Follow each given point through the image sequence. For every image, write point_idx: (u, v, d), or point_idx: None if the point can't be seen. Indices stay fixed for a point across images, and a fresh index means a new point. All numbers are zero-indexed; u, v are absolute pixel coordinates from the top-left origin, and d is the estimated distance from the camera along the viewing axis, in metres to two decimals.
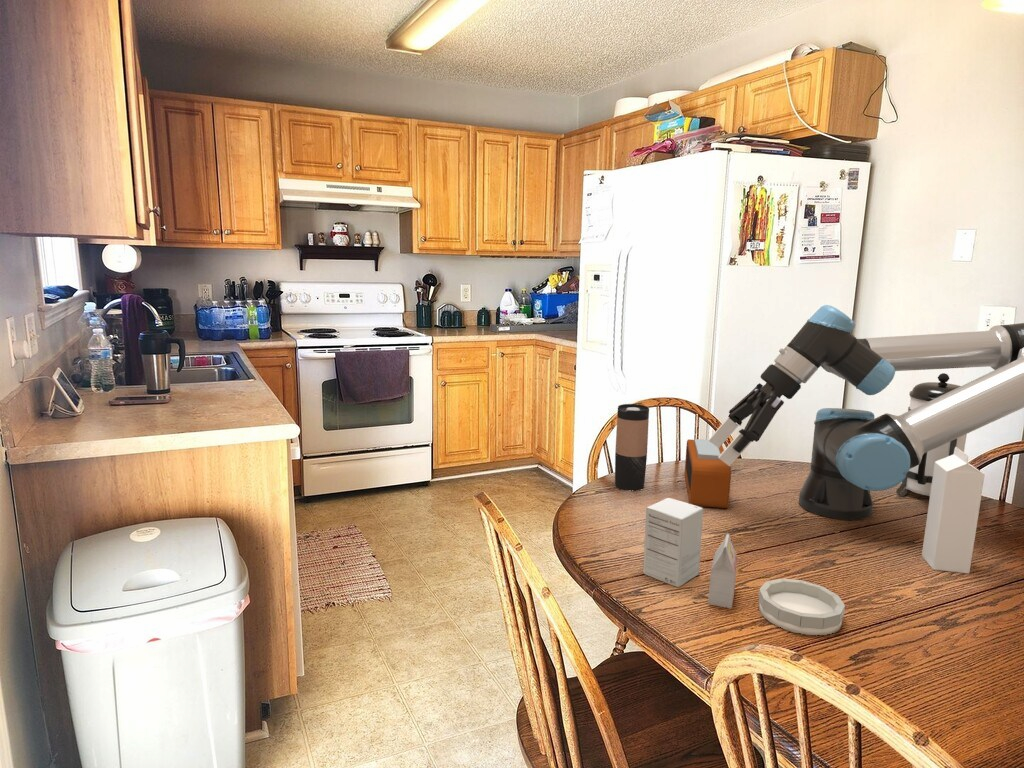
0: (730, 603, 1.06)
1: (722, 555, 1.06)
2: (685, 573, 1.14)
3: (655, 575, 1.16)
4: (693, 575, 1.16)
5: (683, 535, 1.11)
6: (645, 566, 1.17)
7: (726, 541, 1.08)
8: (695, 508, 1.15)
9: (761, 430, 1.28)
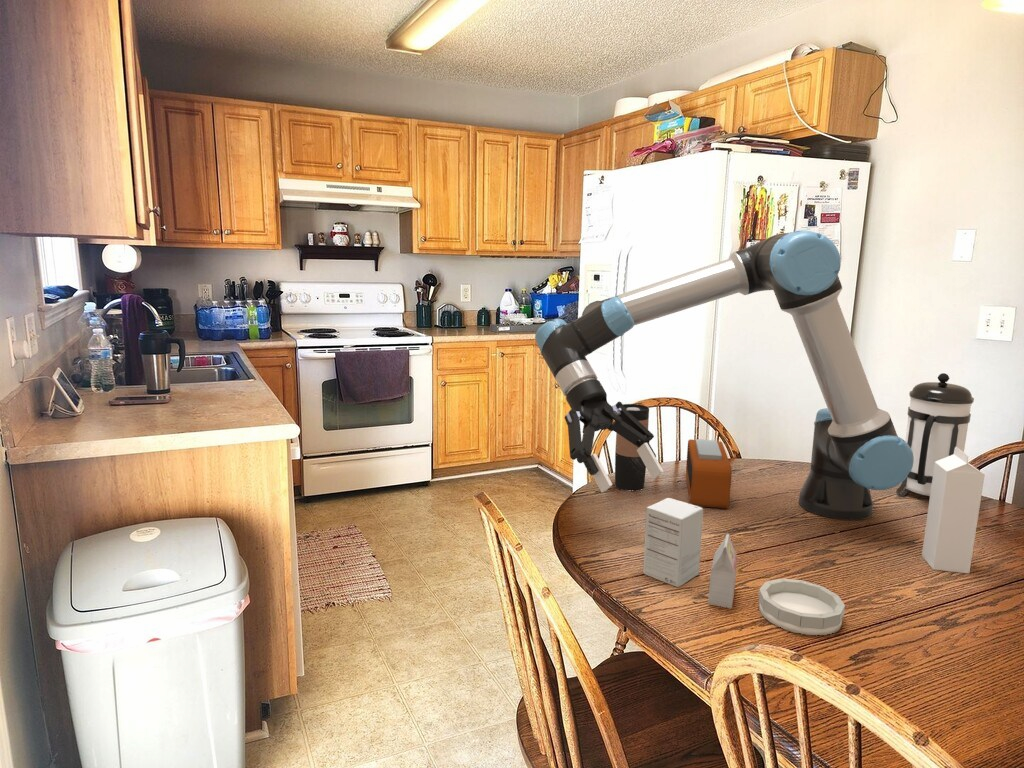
0: (730, 603, 1.06)
1: (722, 555, 1.06)
2: (685, 573, 1.14)
3: (655, 575, 1.16)
4: (693, 575, 1.16)
5: (683, 535, 1.11)
6: (645, 566, 1.17)
7: (726, 541, 1.08)
8: (695, 508, 1.15)
9: (574, 443, 1.20)
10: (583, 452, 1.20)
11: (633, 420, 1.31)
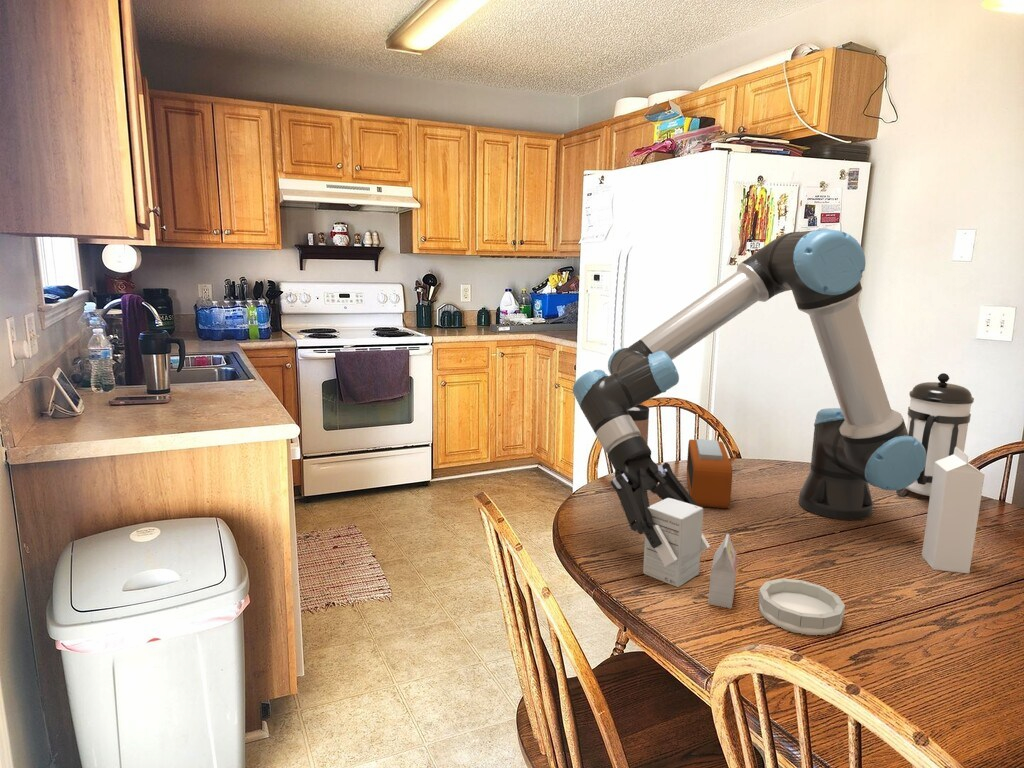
0: (730, 603, 1.06)
1: (722, 555, 1.06)
2: (685, 573, 1.14)
3: (655, 575, 1.16)
4: (693, 575, 1.16)
5: (682, 535, 1.11)
6: (645, 566, 1.17)
7: (726, 541, 1.08)
8: (695, 508, 1.15)
9: (633, 514, 1.13)
10: (645, 523, 1.13)
11: (678, 485, 1.22)
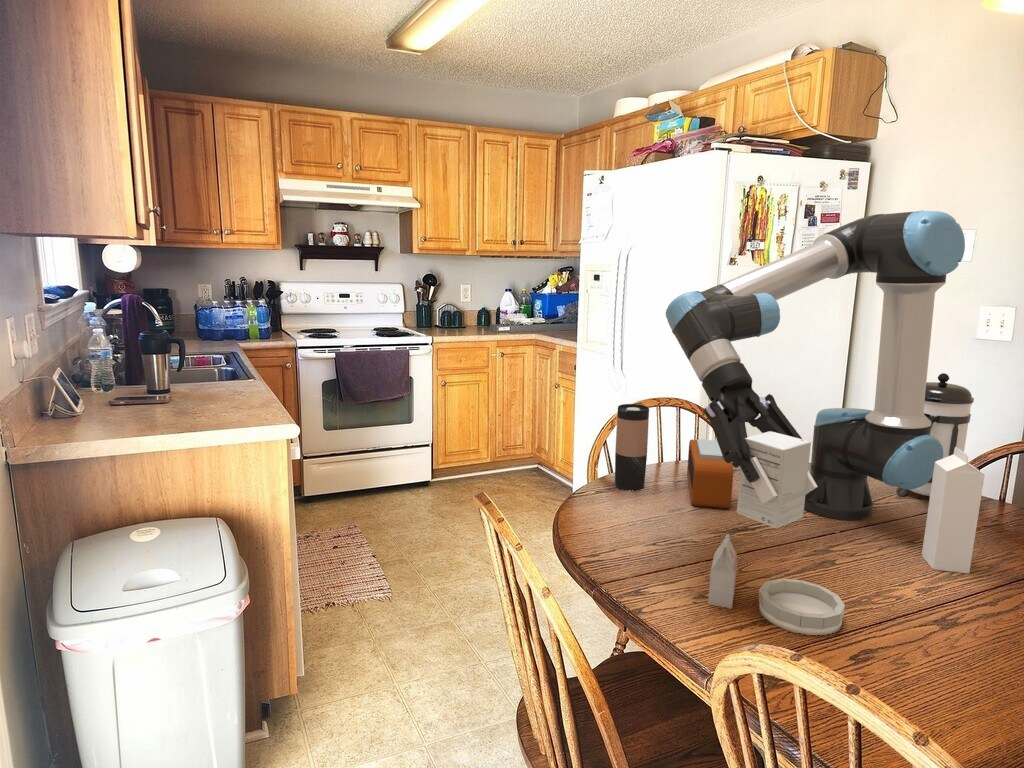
0: (730, 603, 1.06)
1: (722, 555, 1.06)
2: (786, 513, 1.00)
3: (750, 515, 1.03)
4: (796, 518, 1.02)
5: (784, 469, 0.98)
6: (739, 505, 1.04)
7: (726, 541, 1.08)
8: (801, 441, 1.01)
9: (727, 444, 1.01)
10: (741, 455, 1.01)
11: (782, 418, 1.08)
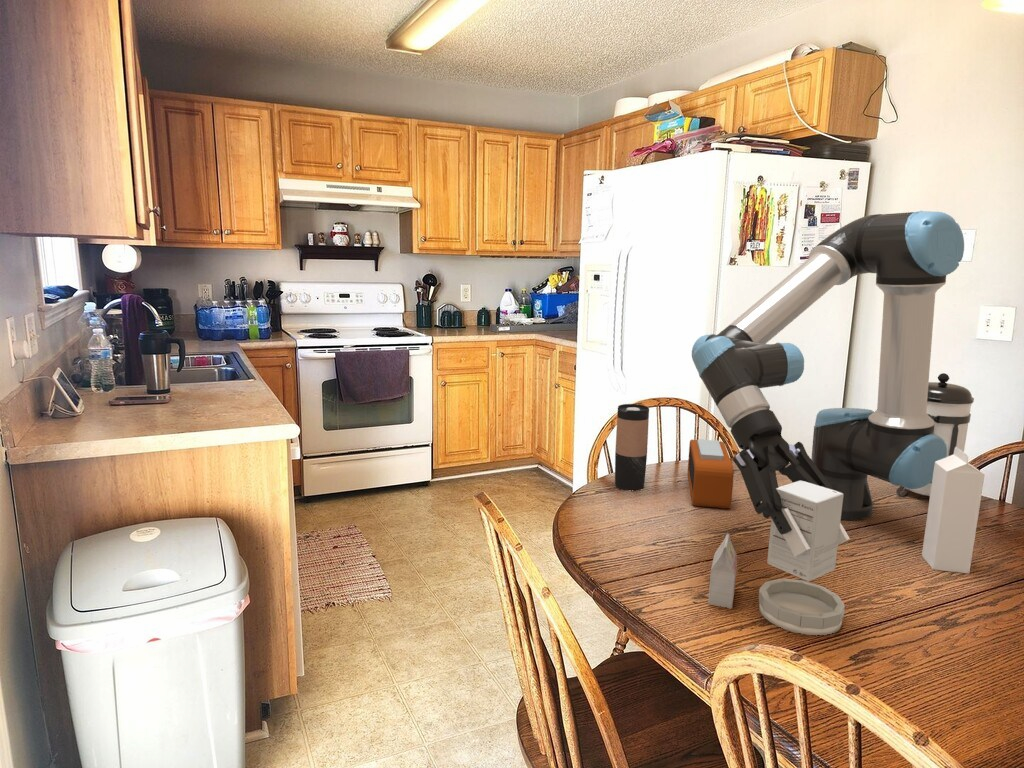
0: (730, 603, 1.06)
1: (722, 555, 1.06)
2: (818, 566, 0.99)
3: (781, 566, 1.02)
4: (828, 570, 1.01)
5: (817, 521, 0.96)
6: (770, 555, 1.03)
7: (726, 541, 1.08)
8: (834, 493, 0.99)
9: (758, 495, 1.00)
10: (772, 506, 0.99)
11: (812, 467, 1.07)
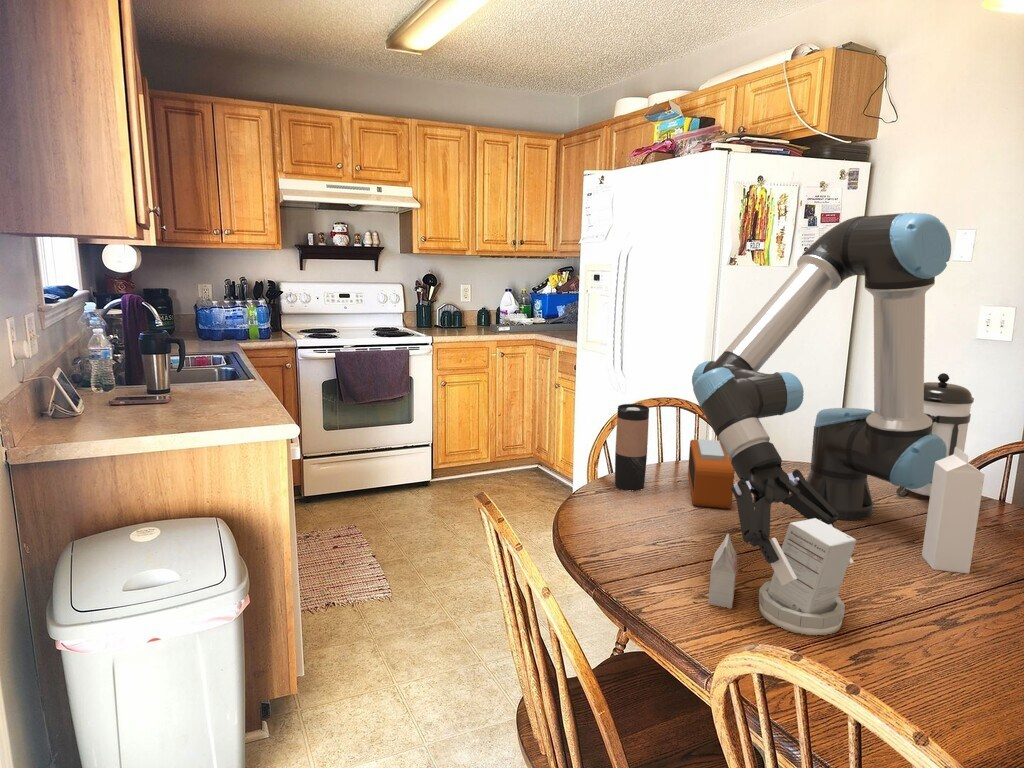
0: (730, 603, 1.06)
1: (722, 555, 1.06)
2: (818, 606, 1.00)
3: (781, 598, 1.03)
4: (826, 610, 1.02)
5: (827, 564, 0.97)
6: (772, 586, 1.04)
7: (726, 541, 1.08)
8: (847, 538, 1.00)
9: (748, 523, 1.01)
10: (760, 535, 1.00)
11: (814, 494, 1.09)
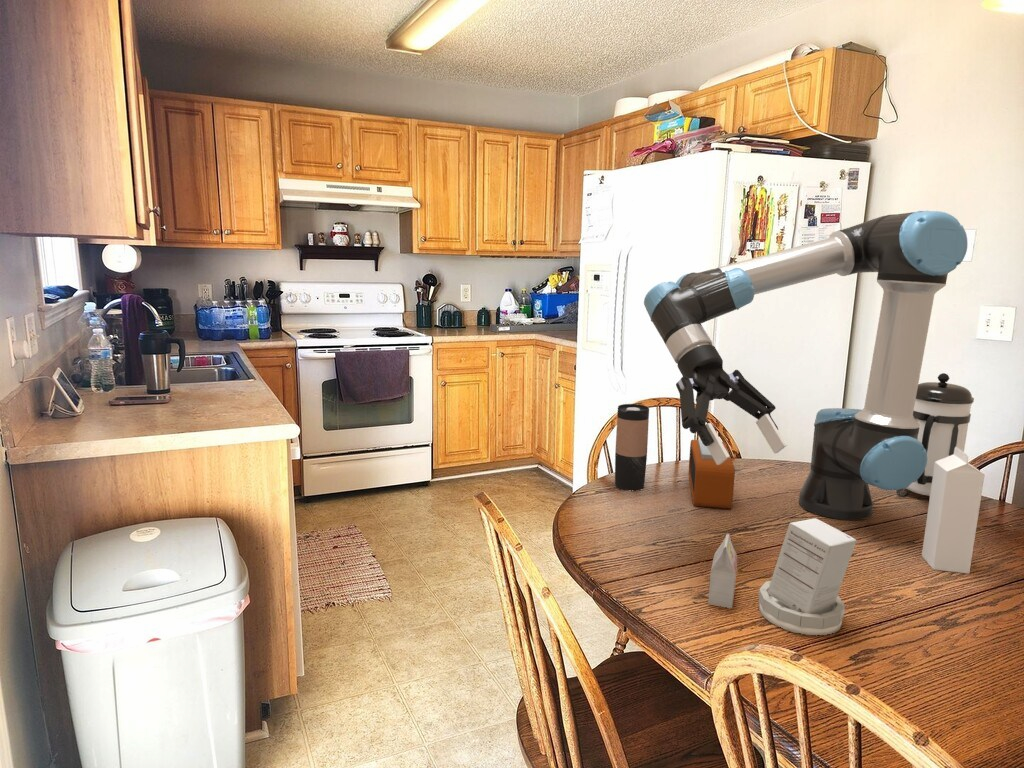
0: (730, 603, 1.06)
1: (722, 555, 1.06)
2: (818, 606, 1.00)
3: (781, 598, 1.03)
4: (826, 610, 1.02)
5: (827, 564, 0.97)
6: (772, 586, 1.04)
7: (726, 541, 1.08)
8: (847, 538, 1.00)
9: (687, 411, 1.11)
10: (697, 421, 1.11)
11: (752, 390, 1.20)
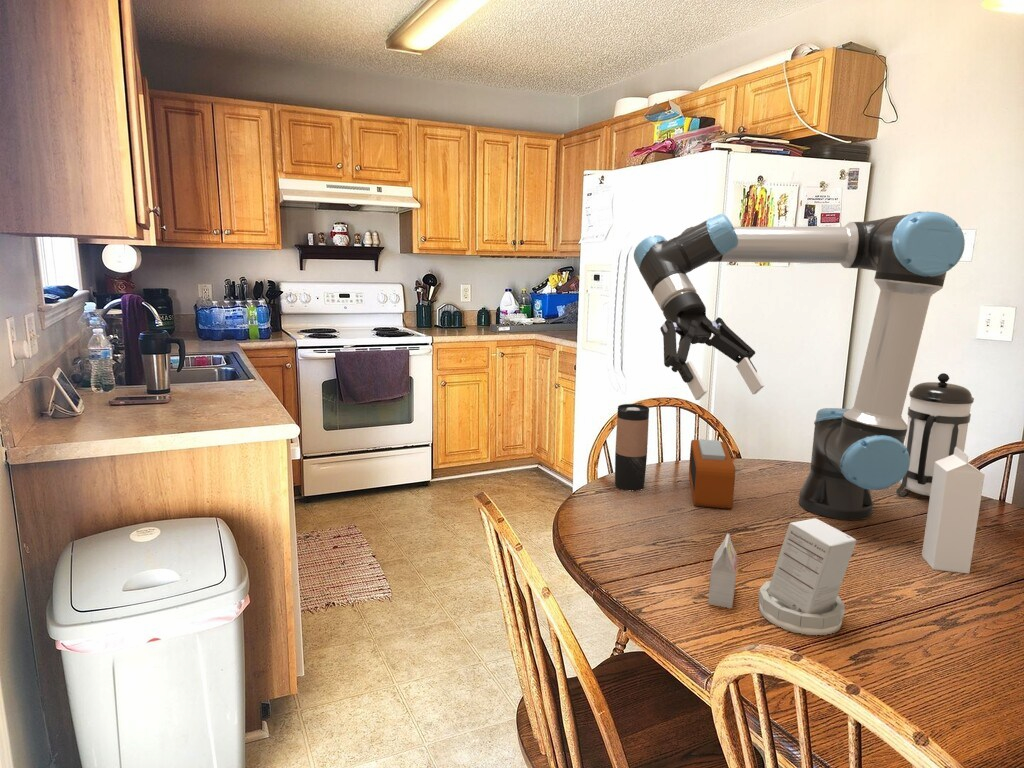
0: (730, 603, 1.06)
1: (722, 555, 1.06)
2: (818, 606, 1.00)
3: (781, 598, 1.03)
4: (826, 610, 1.02)
5: (827, 564, 0.97)
6: (772, 586, 1.04)
7: (726, 541, 1.08)
8: (847, 538, 1.00)
9: (669, 350, 1.18)
10: (678, 359, 1.18)
11: (733, 336, 1.26)
